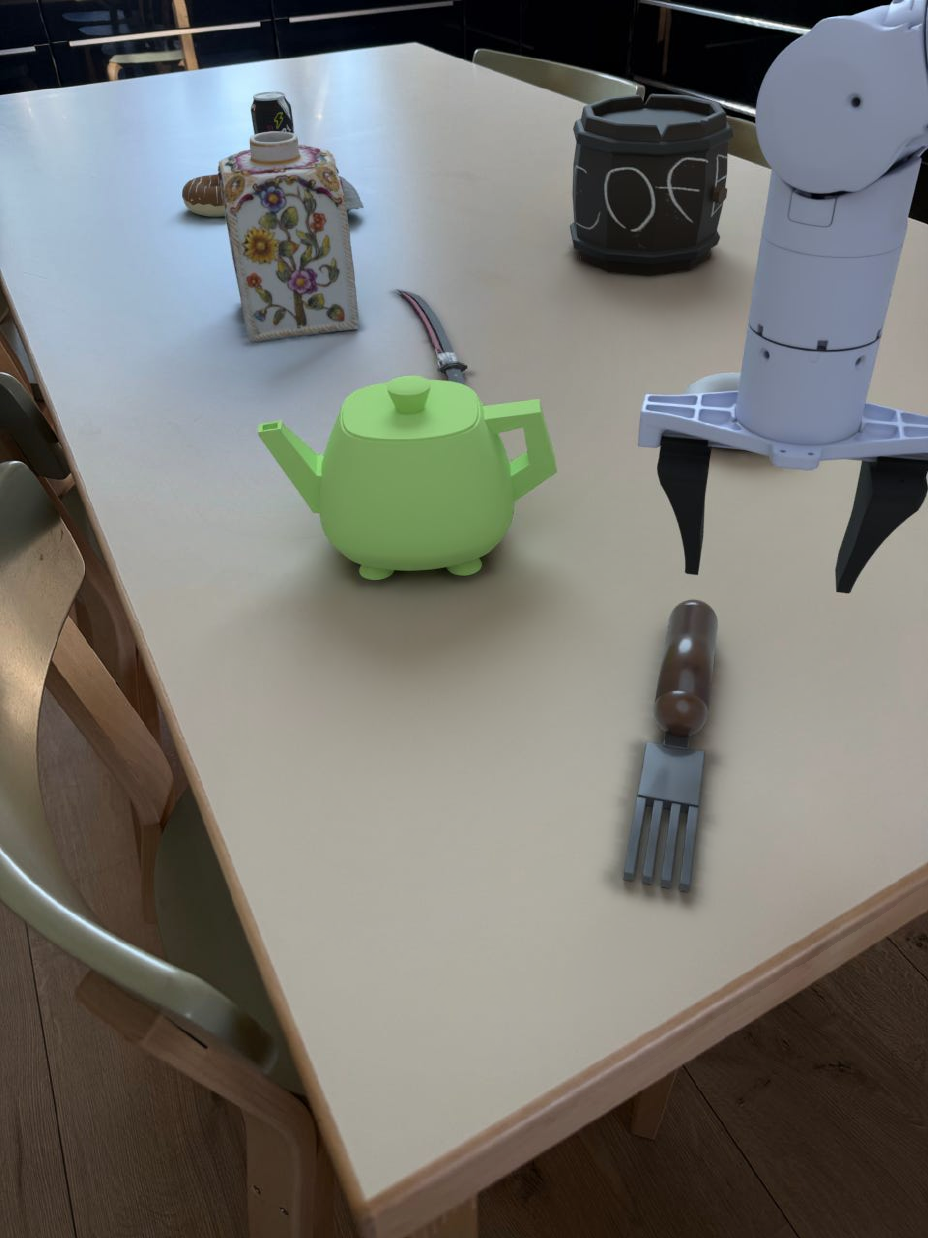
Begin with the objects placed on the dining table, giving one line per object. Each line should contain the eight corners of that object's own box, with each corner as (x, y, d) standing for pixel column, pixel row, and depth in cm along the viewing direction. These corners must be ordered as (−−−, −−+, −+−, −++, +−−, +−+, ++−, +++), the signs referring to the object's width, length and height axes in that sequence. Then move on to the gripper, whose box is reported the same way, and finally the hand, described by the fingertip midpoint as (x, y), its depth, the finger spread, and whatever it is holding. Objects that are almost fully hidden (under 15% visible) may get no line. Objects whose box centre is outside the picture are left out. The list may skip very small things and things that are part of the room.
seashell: (296, 206, 137) (291, 168, 134) (354, 200, 139) (351, 162, 136) (305, 233, 128) (300, 192, 125) (368, 226, 130) (365, 186, 126)
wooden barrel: (676, 291, 108) (692, 136, 98) (540, 261, 117) (543, 116, 107) (746, 244, 119) (767, 101, 109) (617, 220, 128) (626, 85, 118)
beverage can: (307, 179, 148) (296, 90, 140) (288, 190, 144) (275, 99, 136) (274, 176, 150) (262, 89, 142) (254, 187, 146) (240, 97, 138)
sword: (486, 405, 88) (486, 392, 87) (453, 409, 87) (452, 396, 87) (422, 294, 112) (422, 283, 111) (396, 297, 111) (395, 286, 111)
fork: (667, 623, 64) (672, 586, 62) (717, 630, 63) (724, 593, 61) (622, 879, 48) (627, 841, 47) (688, 892, 48) (696, 854, 46)
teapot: (270, 605, 67) (238, 439, 59) (290, 500, 77) (264, 347, 69) (565, 591, 67) (572, 423, 59) (544, 487, 77) (548, 334, 69)
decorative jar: (240, 303, 110) (209, 127, 98) (343, 291, 112) (324, 117, 100) (248, 345, 100) (215, 156, 89) (361, 331, 103) (342, 144, 91)
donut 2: (169, 215, 136) (162, 184, 134) (219, 194, 143) (214, 165, 141) (228, 224, 132) (223, 193, 129) (277, 203, 139) (273, 173, 137)
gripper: (639, 350, 42) (619, 599, 51) (1005, 376, 39) (919, 638, 48) (657, 290, 48) (636, 526, 56) (981, 310, 44) (907, 556, 53)
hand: (766, 572), depth 52 cm, fingers open, 7 cm apart
